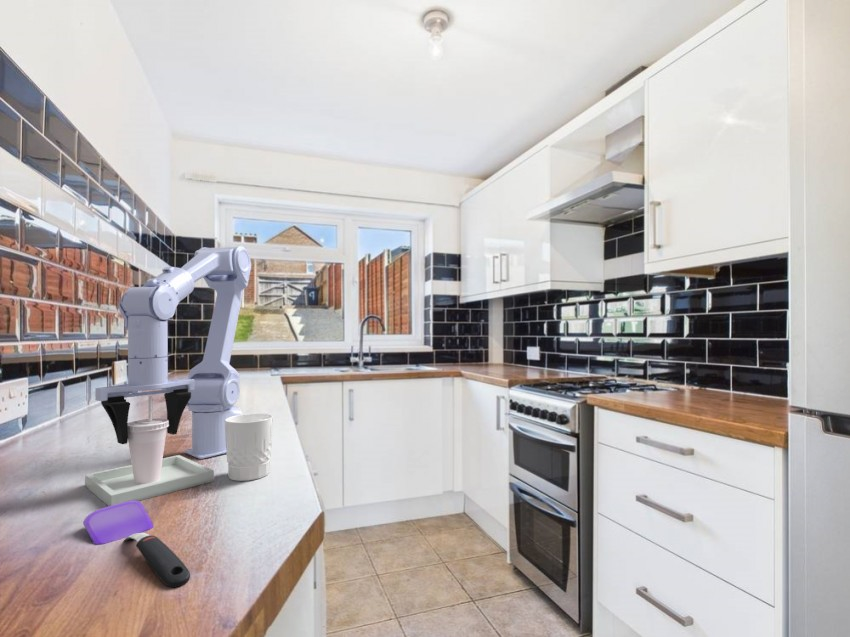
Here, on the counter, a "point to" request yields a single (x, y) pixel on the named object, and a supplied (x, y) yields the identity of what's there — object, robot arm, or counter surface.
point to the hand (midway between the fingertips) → (148, 438)
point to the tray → (122, 488)
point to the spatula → (136, 538)
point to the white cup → (248, 446)
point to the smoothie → (147, 447)
